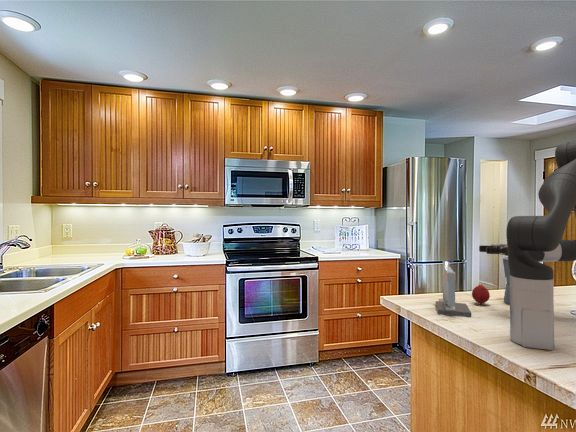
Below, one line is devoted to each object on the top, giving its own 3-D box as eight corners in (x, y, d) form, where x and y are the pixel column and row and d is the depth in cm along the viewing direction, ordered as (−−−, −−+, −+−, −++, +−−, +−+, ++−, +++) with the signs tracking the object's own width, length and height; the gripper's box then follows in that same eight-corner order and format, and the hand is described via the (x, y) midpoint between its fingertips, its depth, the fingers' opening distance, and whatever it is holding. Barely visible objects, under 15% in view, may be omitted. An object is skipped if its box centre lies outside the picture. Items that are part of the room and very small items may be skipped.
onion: (492, 306, 119) (492, 285, 119) (475, 306, 120) (475, 284, 120) (486, 302, 124) (486, 282, 124) (469, 302, 125) (469, 281, 125)
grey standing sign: (456, 306, 106) (455, 273, 106) (447, 306, 107) (447, 272, 107) (450, 295, 121) (450, 266, 121) (443, 295, 122) (442, 266, 122)
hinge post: (454, 305, 120) (454, 262, 120) (439, 304, 122) (439, 262, 122) (452, 302, 125) (452, 261, 125) (438, 301, 127) (438, 260, 127)
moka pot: (508, 307, 117) (508, 252, 117) (496, 297, 132) (496, 248, 132) (540, 310, 114) (539, 253, 114) (524, 299, 129) (523, 249, 129)
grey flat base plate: (471, 317, 106) (471, 310, 106) (438, 314, 110) (438, 307, 110) (465, 307, 118) (465, 301, 118) (435, 305, 121) (435, 299, 121)
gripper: (527, 237, 113) (474, 237, 116) (552, 240, 99) (491, 239, 102) (527, 258, 113) (475, 258, 116) (552, 264, 99) (492, 263, 102)
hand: (483, 249), depth 109 cm, fingers open, 5 cm apart
